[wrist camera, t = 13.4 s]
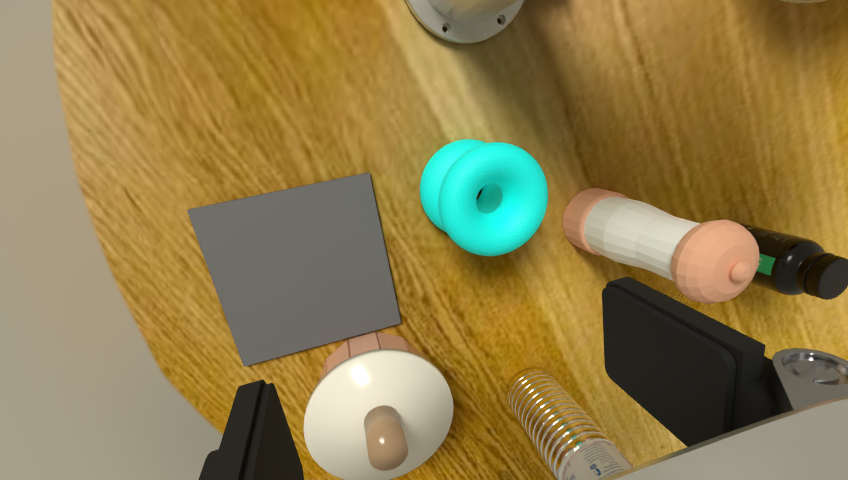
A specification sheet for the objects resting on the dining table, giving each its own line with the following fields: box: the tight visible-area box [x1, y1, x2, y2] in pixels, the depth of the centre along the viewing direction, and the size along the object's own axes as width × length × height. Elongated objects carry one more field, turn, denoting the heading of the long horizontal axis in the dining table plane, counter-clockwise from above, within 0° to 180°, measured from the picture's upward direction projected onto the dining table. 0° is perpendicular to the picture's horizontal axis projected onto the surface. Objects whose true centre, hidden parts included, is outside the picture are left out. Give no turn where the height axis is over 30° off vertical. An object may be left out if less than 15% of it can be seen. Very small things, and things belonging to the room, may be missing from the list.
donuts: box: [420, 139, 548, 256], centre depth 39 cm, size 10×10×10 cm
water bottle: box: [507, 368, 633, 480], centre depth 42 cm, size 7×7×25 cm
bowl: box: [318, 332, 420, 383], centre depth 45 cm, size 12×12×6 cm
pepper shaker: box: [563, 188, 759, 304], centre depth 40 cm, size 7×7×19 cm
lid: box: [304, 349, 453, 480], centre depth 39 cm, size 15×15×5 cm
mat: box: [187, 172, 401, 366], centre depth 42 cm, size 17×17×1 cm
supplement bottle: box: [740, 224, 848, 300], centre depth 49 cm, size 7×7×12 cm
